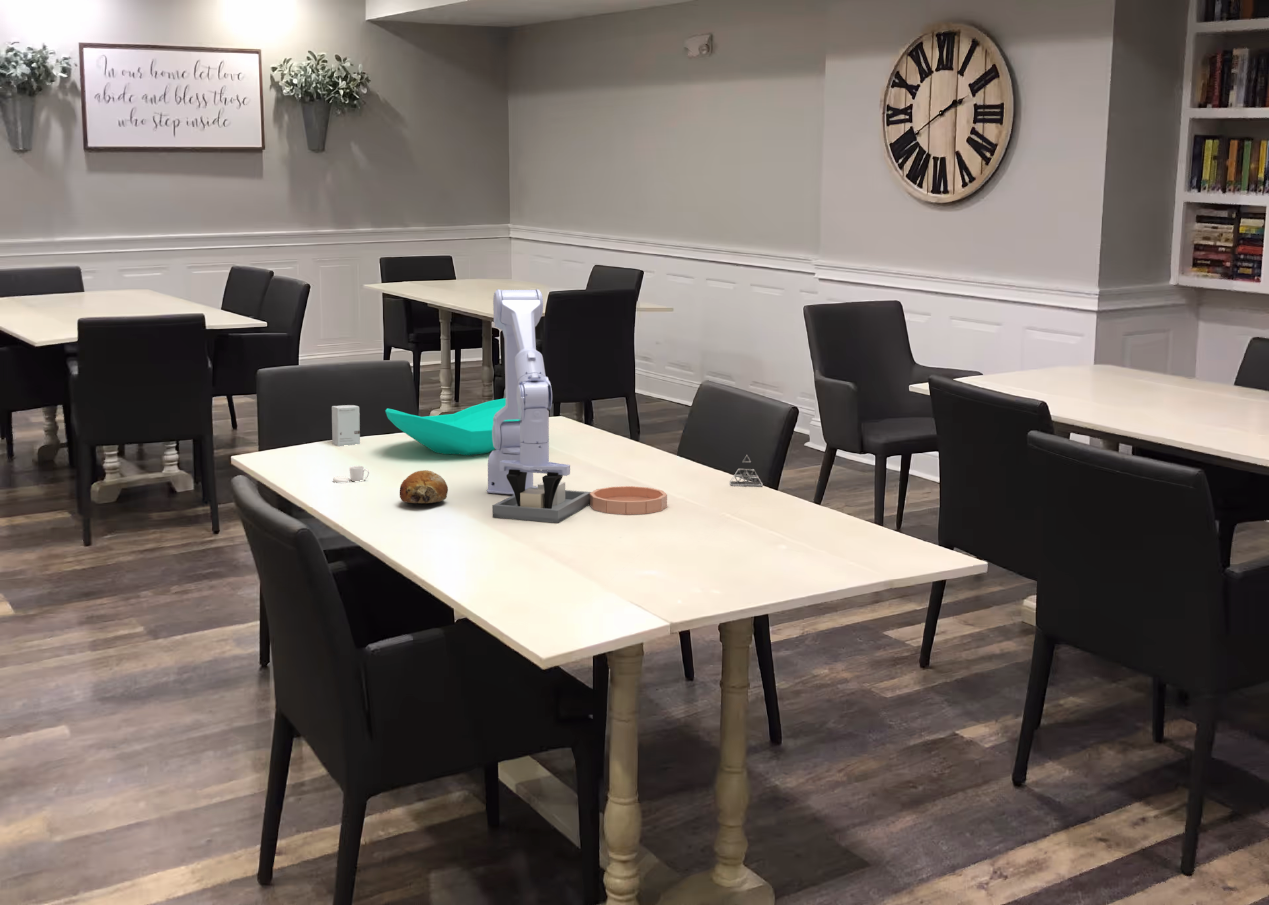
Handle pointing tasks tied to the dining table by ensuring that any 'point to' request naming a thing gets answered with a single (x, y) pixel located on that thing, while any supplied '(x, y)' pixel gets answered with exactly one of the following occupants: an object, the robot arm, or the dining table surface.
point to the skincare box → (345, 425)
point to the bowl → (628, 500)
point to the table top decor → (452, 428)
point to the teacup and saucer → (353, 474)
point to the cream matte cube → (532, 498)
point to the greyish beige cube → (559, 493)
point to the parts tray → (554, 515)
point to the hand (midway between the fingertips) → (534, 508)
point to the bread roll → (423, 488)
